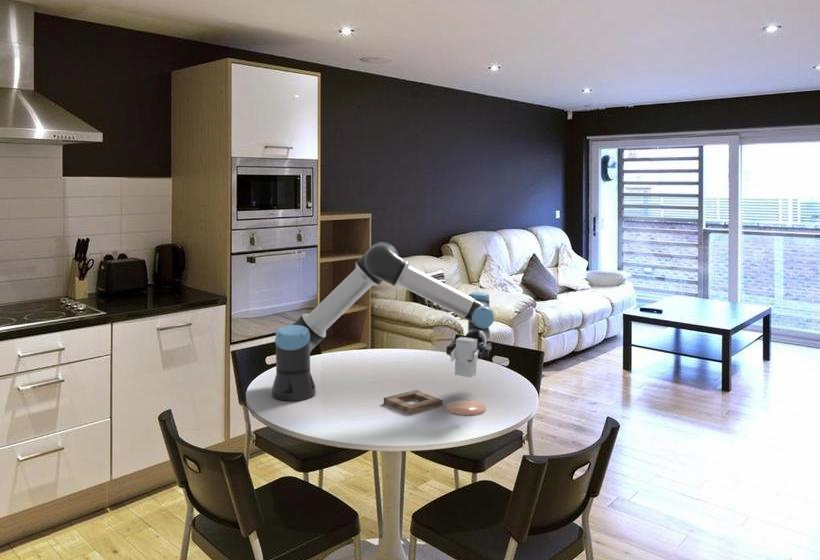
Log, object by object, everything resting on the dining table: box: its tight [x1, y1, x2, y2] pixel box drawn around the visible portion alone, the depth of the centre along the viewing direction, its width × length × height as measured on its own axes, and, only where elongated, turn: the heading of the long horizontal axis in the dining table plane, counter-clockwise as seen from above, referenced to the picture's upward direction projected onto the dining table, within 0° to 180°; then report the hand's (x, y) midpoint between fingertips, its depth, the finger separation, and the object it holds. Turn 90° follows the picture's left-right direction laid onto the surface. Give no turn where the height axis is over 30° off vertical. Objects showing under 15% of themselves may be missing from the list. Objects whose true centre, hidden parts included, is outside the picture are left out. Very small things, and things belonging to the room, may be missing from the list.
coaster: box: [445, 400, 487, 416], centre depth 216 cm, size 13×13×1 cm
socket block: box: [383, 389, 444, 415], centre depth 220 cm, size 14×14×2 cm
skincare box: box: [454, 336, 477, 378], centre depth 214 cm, size 6×4×12 cm
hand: (463, 357), depth 209 cm, fingers closed on skincare box, 7 cm apart
